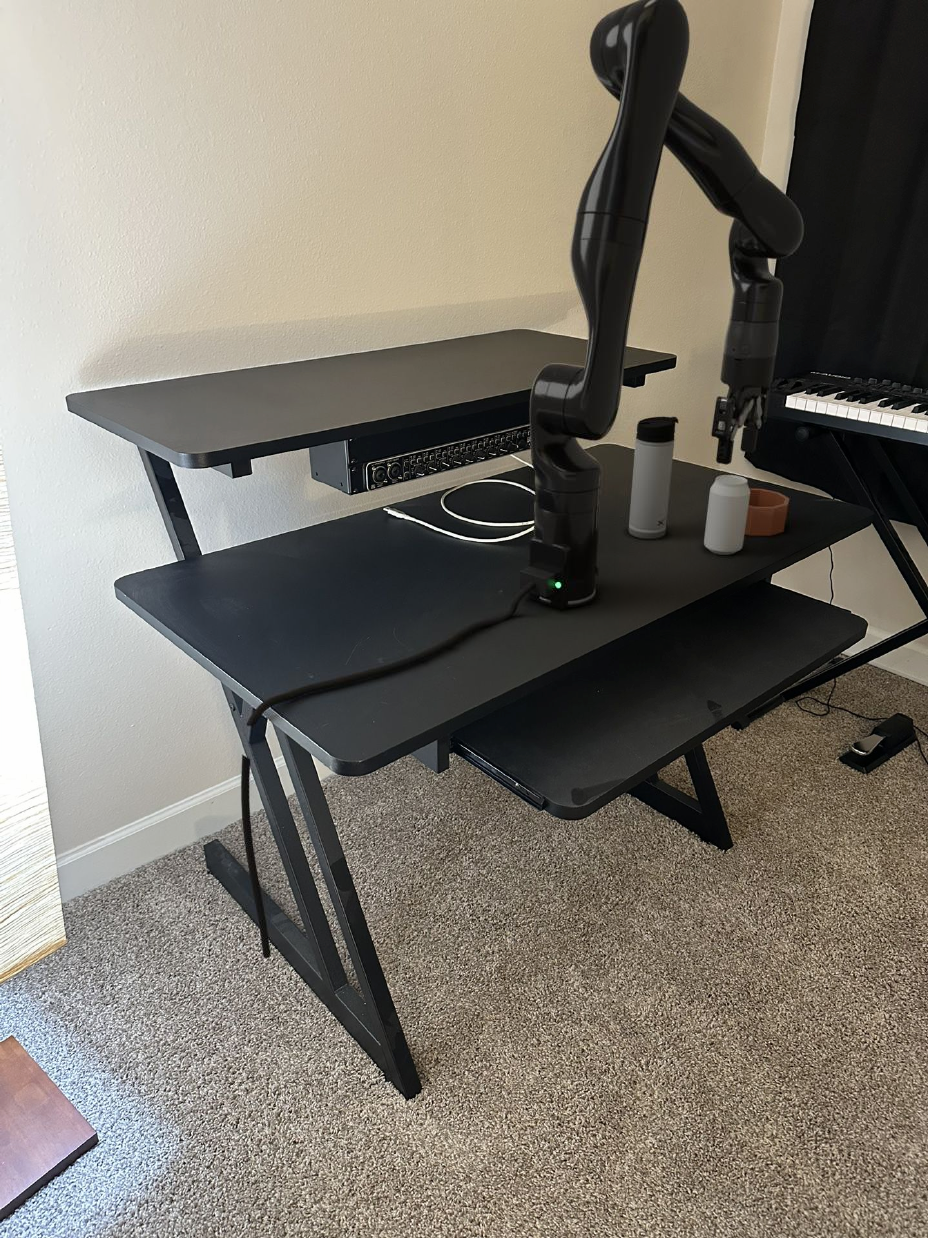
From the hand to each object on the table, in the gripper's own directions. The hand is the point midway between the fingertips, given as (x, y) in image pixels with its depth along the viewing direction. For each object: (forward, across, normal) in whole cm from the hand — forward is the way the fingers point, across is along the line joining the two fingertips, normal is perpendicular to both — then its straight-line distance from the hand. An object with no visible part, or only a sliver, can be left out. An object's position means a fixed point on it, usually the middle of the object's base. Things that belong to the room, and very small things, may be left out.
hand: (735, 457), depth 141 cm
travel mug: (+16, +1, -14) cm, 21 cm away
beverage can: (+16, 0, 0) cm, 16 cm away
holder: (+15, -14, -1) cm, 21 cm away
